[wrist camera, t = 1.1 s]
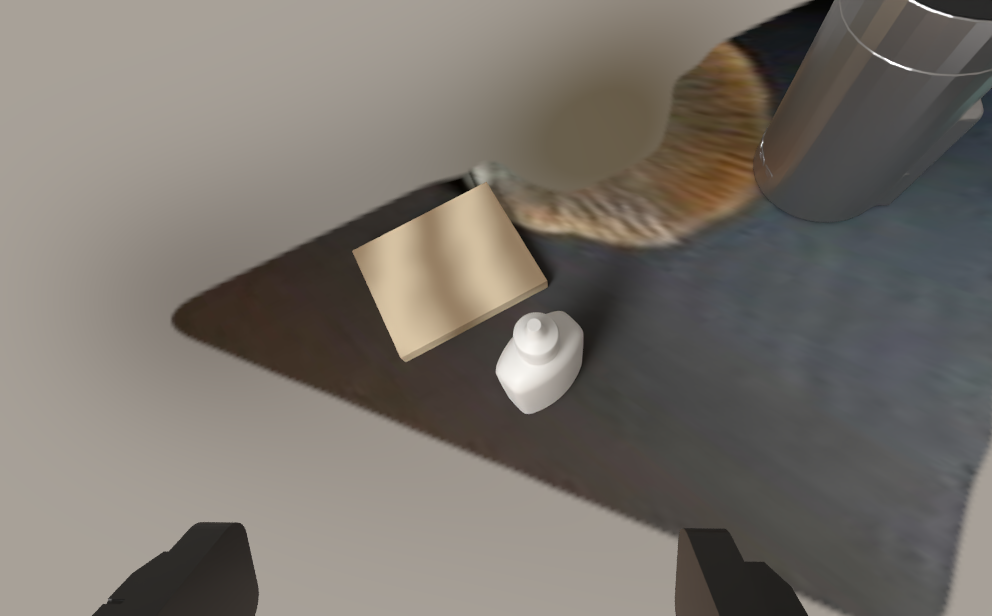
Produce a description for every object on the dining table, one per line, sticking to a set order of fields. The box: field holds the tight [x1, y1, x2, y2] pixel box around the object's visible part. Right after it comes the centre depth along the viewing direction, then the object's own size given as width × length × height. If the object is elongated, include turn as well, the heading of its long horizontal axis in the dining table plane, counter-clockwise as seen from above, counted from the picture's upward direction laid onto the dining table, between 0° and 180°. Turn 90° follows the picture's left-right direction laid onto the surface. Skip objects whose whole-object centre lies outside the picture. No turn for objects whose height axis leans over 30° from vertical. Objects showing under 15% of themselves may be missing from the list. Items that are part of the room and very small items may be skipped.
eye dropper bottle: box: [496, 311, 583, 414], centre depth 32 cm, size 4×6×12 cm
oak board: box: [352, 182, 548, 362], centre depth 41 cm, size 12×10×1 cm
